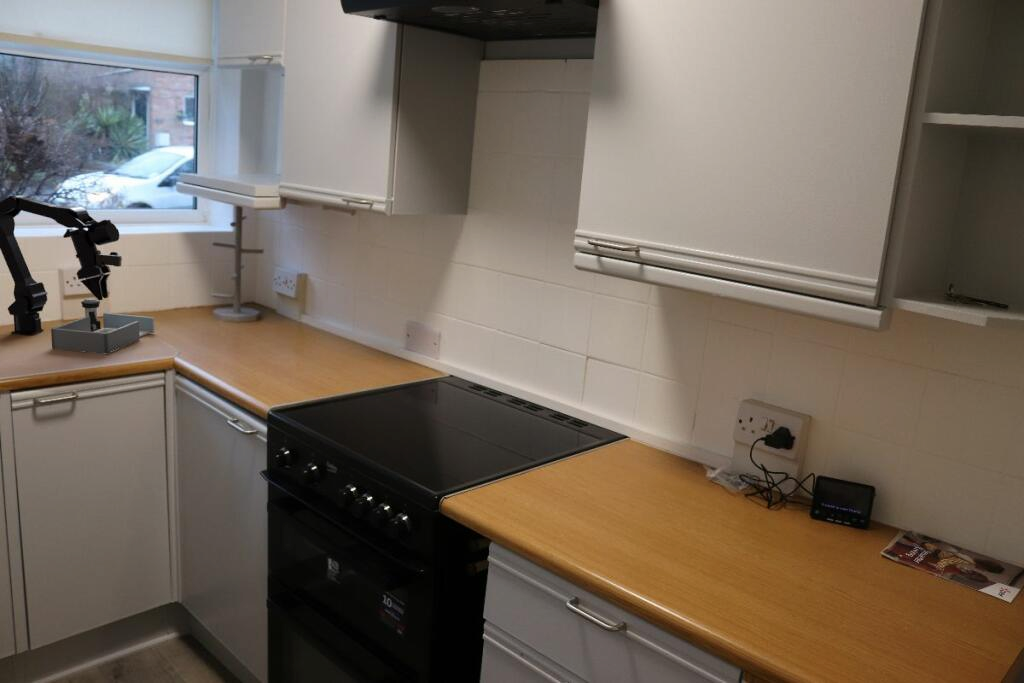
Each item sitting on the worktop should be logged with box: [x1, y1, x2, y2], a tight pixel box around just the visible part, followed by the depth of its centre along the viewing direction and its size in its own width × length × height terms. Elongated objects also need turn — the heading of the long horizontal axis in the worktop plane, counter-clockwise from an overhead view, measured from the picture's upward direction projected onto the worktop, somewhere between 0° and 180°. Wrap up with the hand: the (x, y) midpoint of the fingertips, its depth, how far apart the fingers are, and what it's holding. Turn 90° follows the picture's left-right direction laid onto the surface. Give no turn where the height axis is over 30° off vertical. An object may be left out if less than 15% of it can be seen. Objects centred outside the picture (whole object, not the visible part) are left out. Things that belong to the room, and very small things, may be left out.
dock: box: [50, 316, 141, 354], centre depth 244 cm, size 18×17×6 cm
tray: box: [93, 312, 155, 338], centre depth 253 cm, size 18×16×5 cm
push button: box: [80, 297, 102, 331], centre depth 259 cm, size 7×5×10 cm
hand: (103, 299), depth 245 cm, fingers open, 9 cm apart
